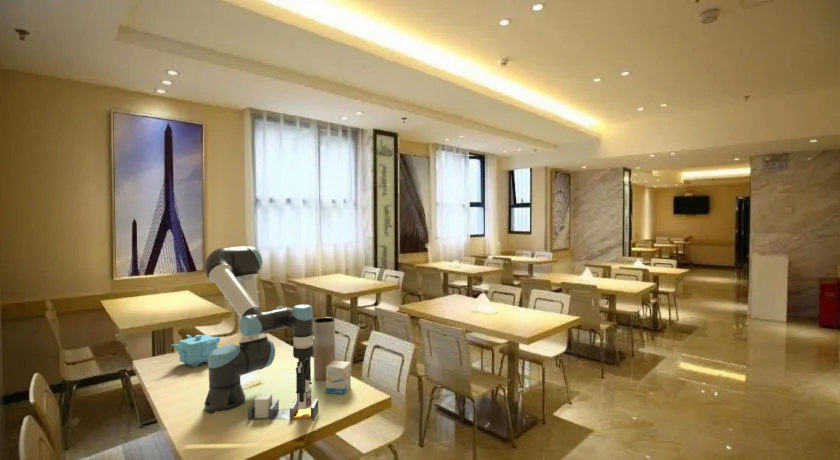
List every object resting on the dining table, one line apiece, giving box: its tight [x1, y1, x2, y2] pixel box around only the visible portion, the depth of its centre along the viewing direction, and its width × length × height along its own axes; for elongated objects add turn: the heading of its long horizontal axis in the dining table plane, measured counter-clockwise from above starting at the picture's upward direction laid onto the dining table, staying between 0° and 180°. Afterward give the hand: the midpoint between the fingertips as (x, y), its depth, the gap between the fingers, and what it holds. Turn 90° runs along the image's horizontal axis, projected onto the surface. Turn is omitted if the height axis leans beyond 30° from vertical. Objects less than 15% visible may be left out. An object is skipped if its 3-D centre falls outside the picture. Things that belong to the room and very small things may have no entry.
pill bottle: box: [296, 380, 312, 409], centre depth 162 cm, size 5×5×10 cm
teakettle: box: [171, 334, 221, 368], centre depth 221 cm, size 19×19×15 cm
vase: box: [313, 316, 336, 382], centre depth 200 cm, size 10×10×28 cm
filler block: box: [254, 393, 273, 418], centre depth 161 cm, size 5×5×7 cm
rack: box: [247, 398, 319, 422], centre depth 162 cm, size 24×8×5 cm, turn 92°
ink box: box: [325, 360, 352, 395], centre depth 186 cm, size 9×8×12 cm
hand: (304, 405), depth 162 cm, fingers closed on pill bottle, 5 cm apart
